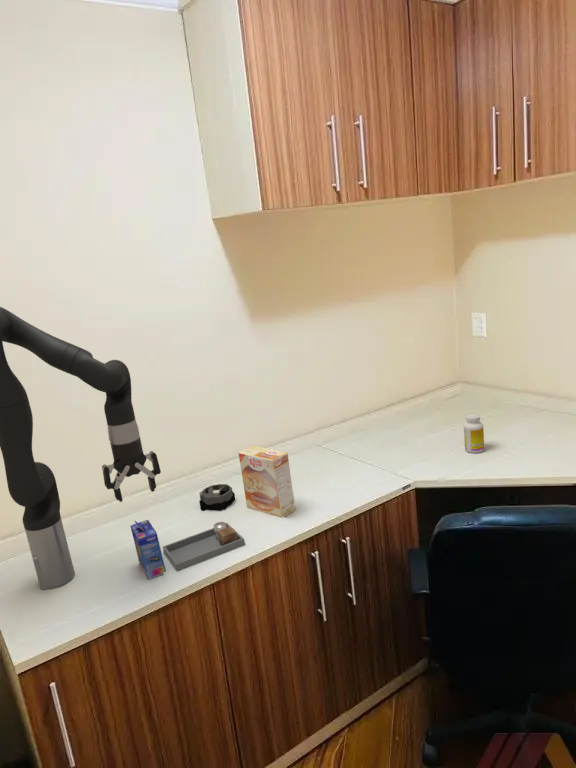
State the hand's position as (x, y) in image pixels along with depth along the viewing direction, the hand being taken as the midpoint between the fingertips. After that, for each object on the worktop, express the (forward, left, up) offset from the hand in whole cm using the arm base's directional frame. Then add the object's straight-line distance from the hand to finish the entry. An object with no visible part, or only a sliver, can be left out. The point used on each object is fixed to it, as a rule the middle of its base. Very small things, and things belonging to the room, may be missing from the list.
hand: (136, 495), depth 155 cm
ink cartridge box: (0, 0, -22) cm, 22 cm away
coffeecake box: (+41, +8, -22) cm, 47 cm away
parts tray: (+15, -1, -22) cm, 26 cm away
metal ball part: (+22, +1, -21) cm, 30 cm away
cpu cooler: (+29, +23, -22) cm, 43 cm away
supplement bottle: (+118, -3, -22) cm, 120 cm away
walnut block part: (+22, -4, -21) cm, 30 cm away
